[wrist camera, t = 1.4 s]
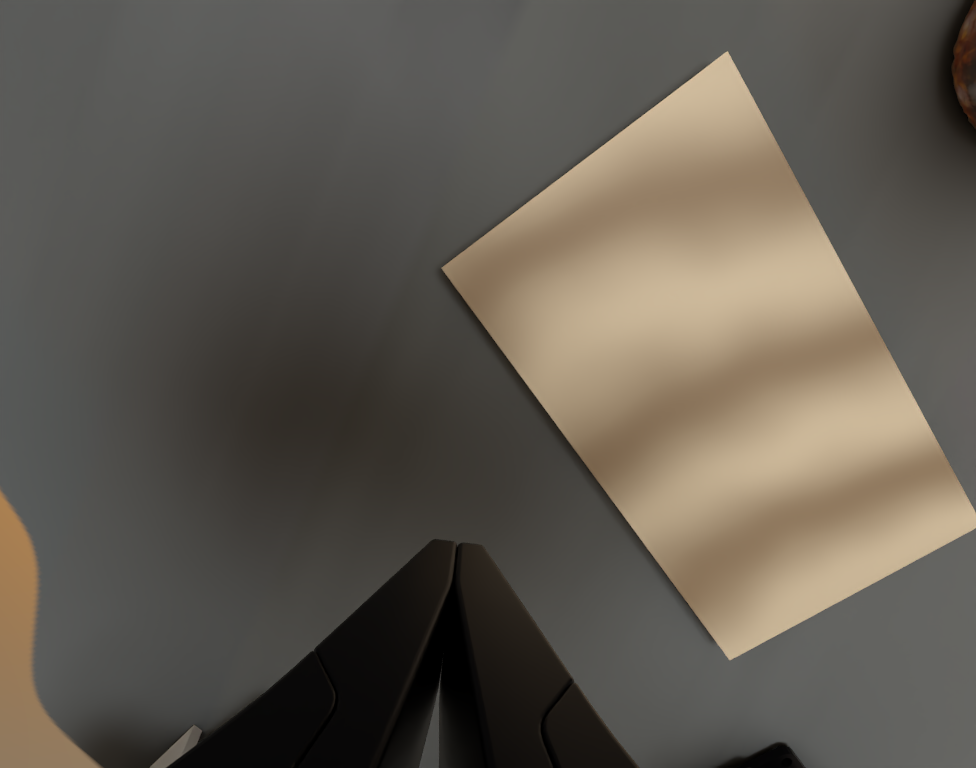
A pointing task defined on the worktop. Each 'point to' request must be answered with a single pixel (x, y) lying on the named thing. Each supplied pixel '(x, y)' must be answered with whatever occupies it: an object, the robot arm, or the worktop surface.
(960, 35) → the sauce bottle
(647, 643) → the worktop surface
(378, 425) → the worktop surface
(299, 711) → the robot arm
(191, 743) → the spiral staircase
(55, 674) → the worktop surface
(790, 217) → the beech cutting board
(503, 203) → the worktop surface
